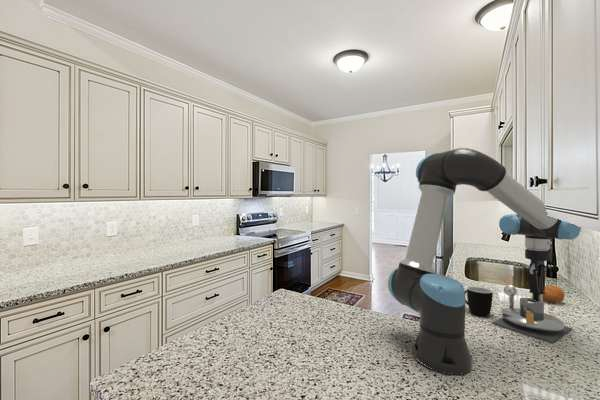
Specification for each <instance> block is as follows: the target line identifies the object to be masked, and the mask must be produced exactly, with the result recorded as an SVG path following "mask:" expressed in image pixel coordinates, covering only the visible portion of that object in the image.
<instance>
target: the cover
mask: <svg viewBox="0 0 600 400" xmlns="http://www.w3.org/2000/svg"><path fill="white" fill-rule="evenodd" d="M519 308H520V316H522V317H524V318H526V311H532V312H534V320H537V321H542V320H544V313H545V302H544V301H543V300H542V301H540V300H537V299H533V298H532V297H520V298H519Z"/></svg>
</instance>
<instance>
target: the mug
mask: <svg viewBox="0 0 600 400" xmlns="http://www.w3.org/2000/svg"><path fill="white" fill-rule="evenodd" d="M466 294H467V295H466ZM465 295H466V296H467V298H466V303H465V305H467V306H468V309H469V312H470V313H471V315H473V316H476V317H481V318H487V317H489V316H490V314H491V311H492V306H493V305H492V304H493V296H494V295H493V290H491V289H489V288H486V287H481V286H467V288H466V290H465Z"/></svg>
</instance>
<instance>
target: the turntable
mask: <svg viewBox="0 0 600 400" xmlns="http://www.w3.org/2000/svg"><path fill="white" fill-rule="evenodd" d="M501 316H502V317H501V318H504V319H506V320H507V321H509V322H511V323H514V324H516V325H519V326H522V327H526V328H530V329H534V330H540V331H549V332H558V331H562V330H564V326H565V322H564V321H563V320H561V319H560V318H558V317H556V316H554V315H550V314H547V313H545V312H544V320H542V321H537V320H534V312H532V311H526V318H524V317H522V316H520V307H519V308H518V307H514V308H509V307H507V308H504V309H502V310H501Z"/></svg>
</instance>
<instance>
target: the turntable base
mask: <svg viewBox="0 0 600 400" xmlns="http://www.w3.org/2000/svg"><path fill="white" fill-rule="evenodd" d="M491 325H493V326H498V327H500V328H503V329H506V330H510V331H512V332H515V333H519V334H522V335H524V336H528V337H530V338H534V339H537V340H540V341H544V342H545V343H546V342H547V343H549V344H555V343H556V342H558V340H560V339H562V338H563V337H564V336H566V335H567V334H568V333H570V332H571V331H572V330H573V328H572V327H569V326H566V325H564V330H562V331H558V332H549V331H540V330H534V329H530V328H526V327H522V326H519V325H516V324H514V323H511V322H509V321H507V320H506V319H504V318H503V317H501V318H498V319H497V320H495V321H494V320H493V321H492V323H491Z"/></svg>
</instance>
